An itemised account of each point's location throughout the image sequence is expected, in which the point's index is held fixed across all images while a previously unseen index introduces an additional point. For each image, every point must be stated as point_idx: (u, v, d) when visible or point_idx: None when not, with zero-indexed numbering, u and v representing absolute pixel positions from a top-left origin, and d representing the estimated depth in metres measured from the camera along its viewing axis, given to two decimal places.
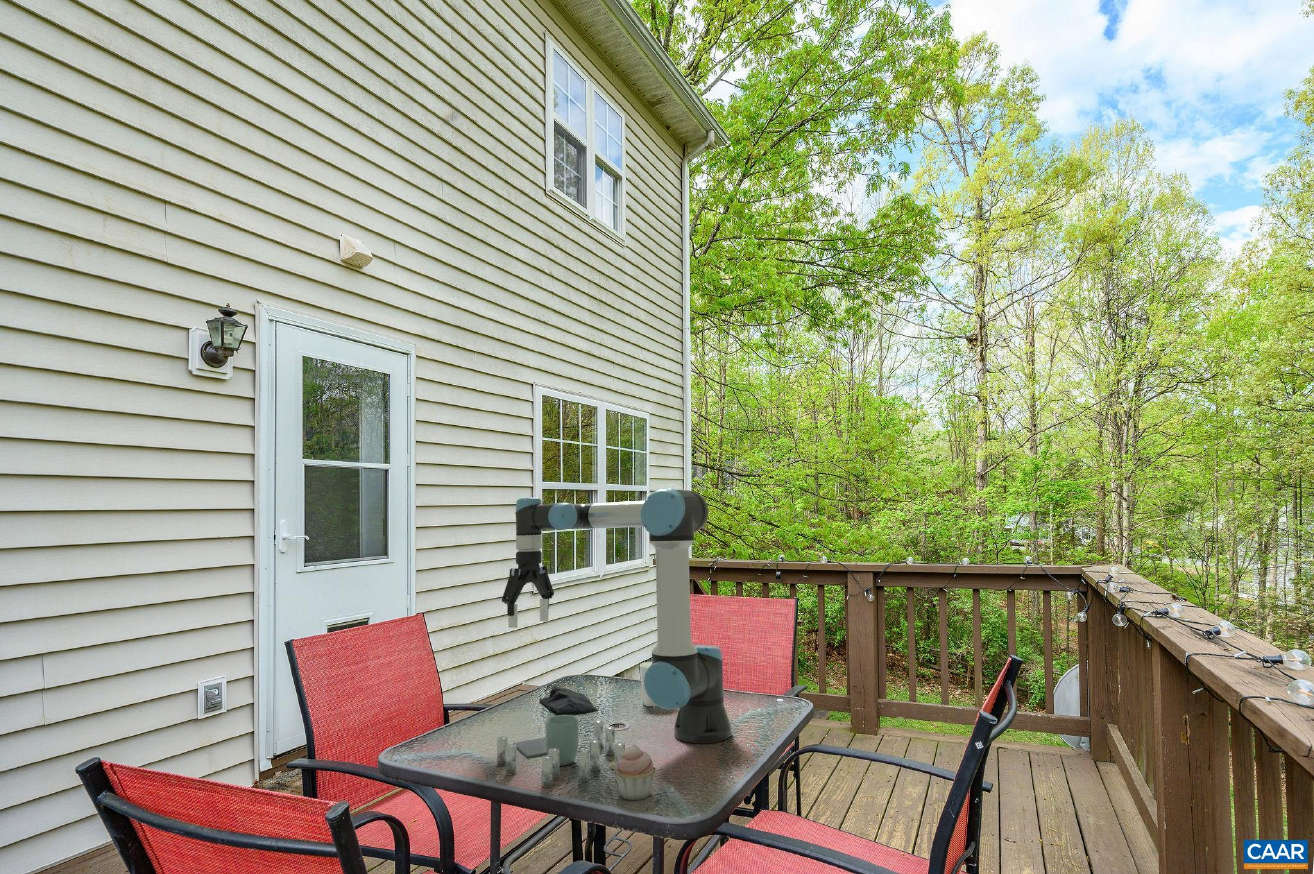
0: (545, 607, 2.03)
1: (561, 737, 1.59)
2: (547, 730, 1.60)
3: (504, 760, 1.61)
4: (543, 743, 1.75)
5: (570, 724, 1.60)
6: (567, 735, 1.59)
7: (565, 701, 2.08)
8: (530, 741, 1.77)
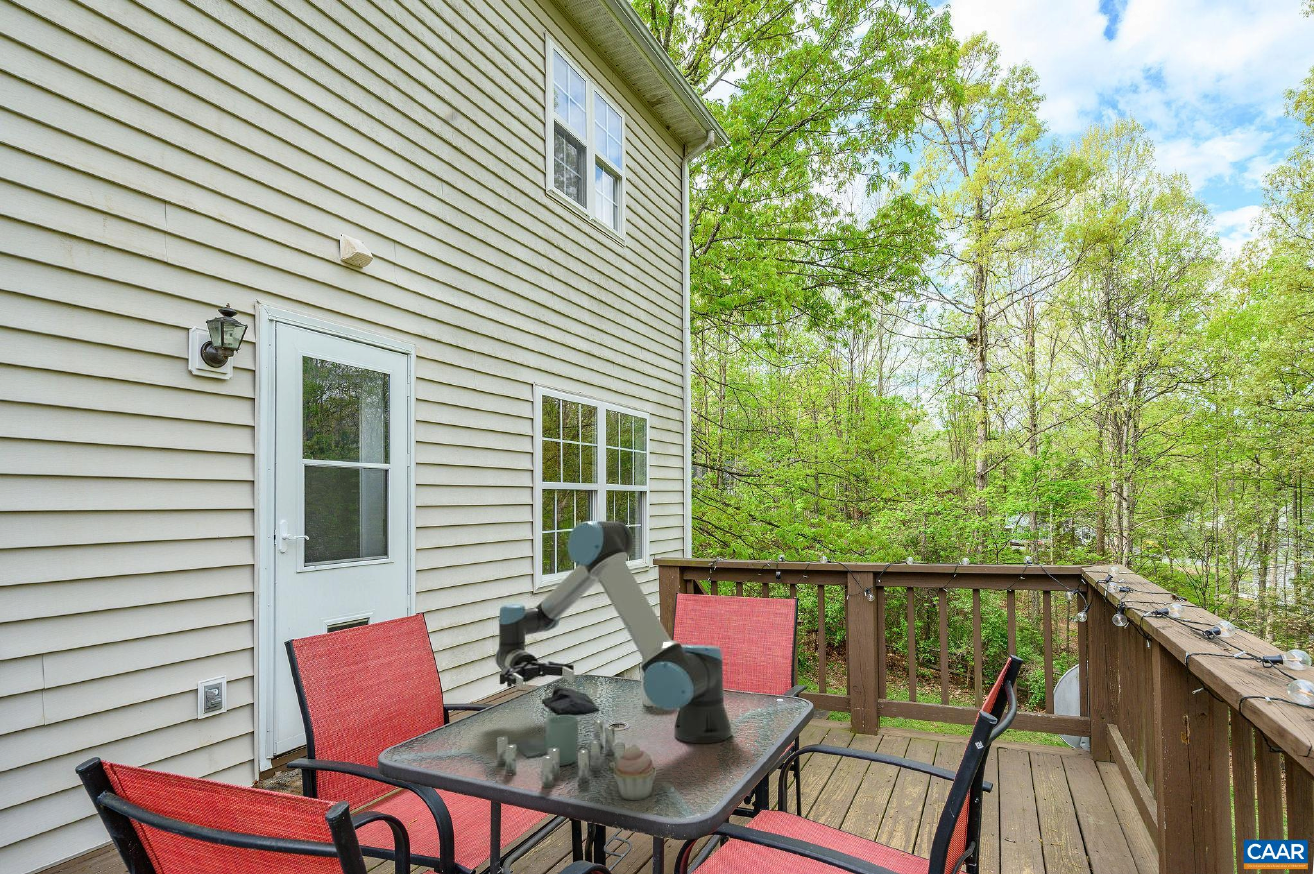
0: (565, 670, 1.79)
1: (561, 737, 1.59)
2: (547, 730, 1.60)
3: (504, 760, 1.61)
4: (543, 743, 1.75)
5: (570, 724, 1.60)
6: (567, 735, 1.59)
7: (567, 701, 2.08)
8: (530, 741, 1.77)
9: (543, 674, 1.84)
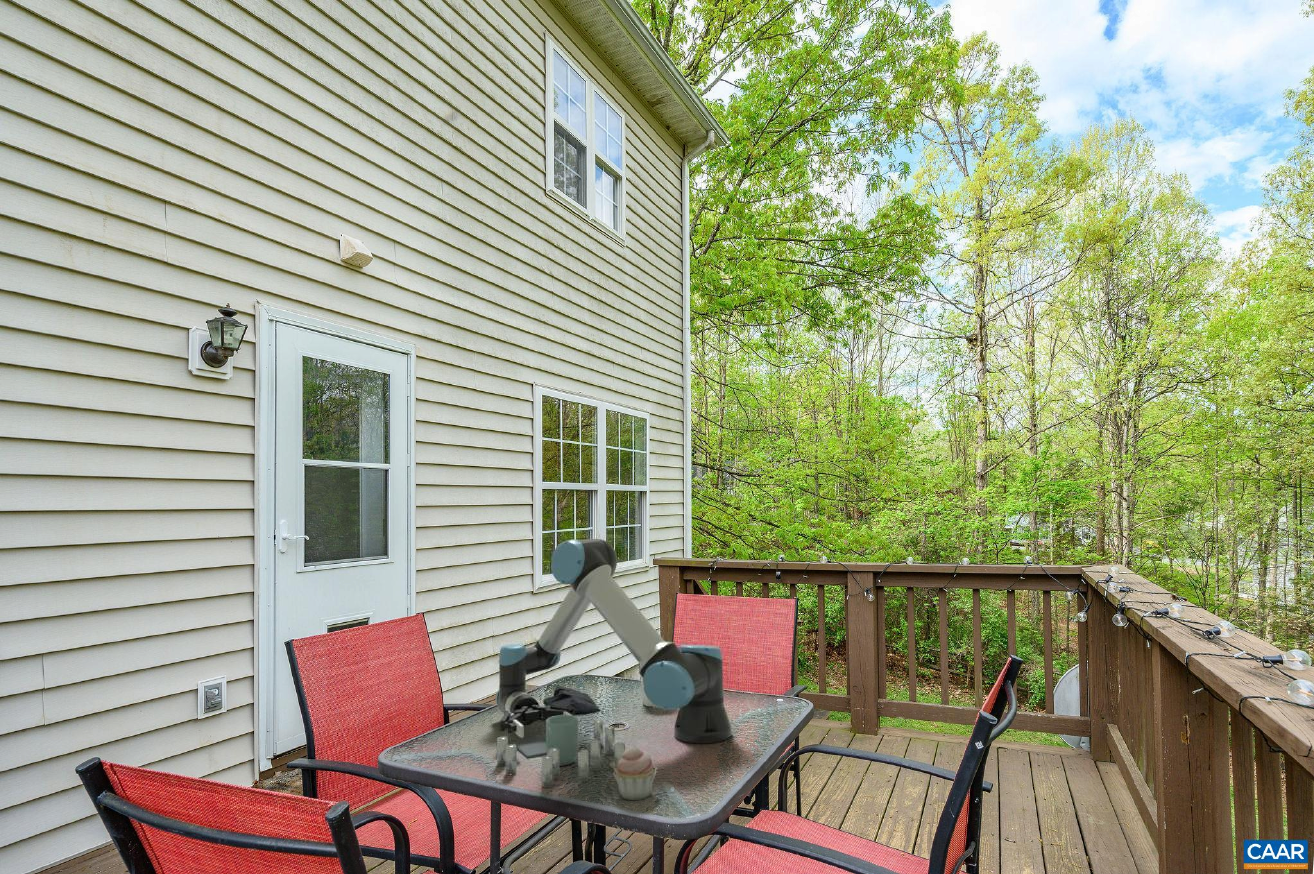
0: None
1: (561, 737, 1.59)
2: (547, 730, 1.60)
3: (504, 760, 1.61)
4: (543, 743, 1.75)
5: (570, 724, 1.60)
6: (567, 735, 1.59)
7: (568, 701, 2.08)
8: (530, 741, 1.77)
9: (544, 718, 1.82)
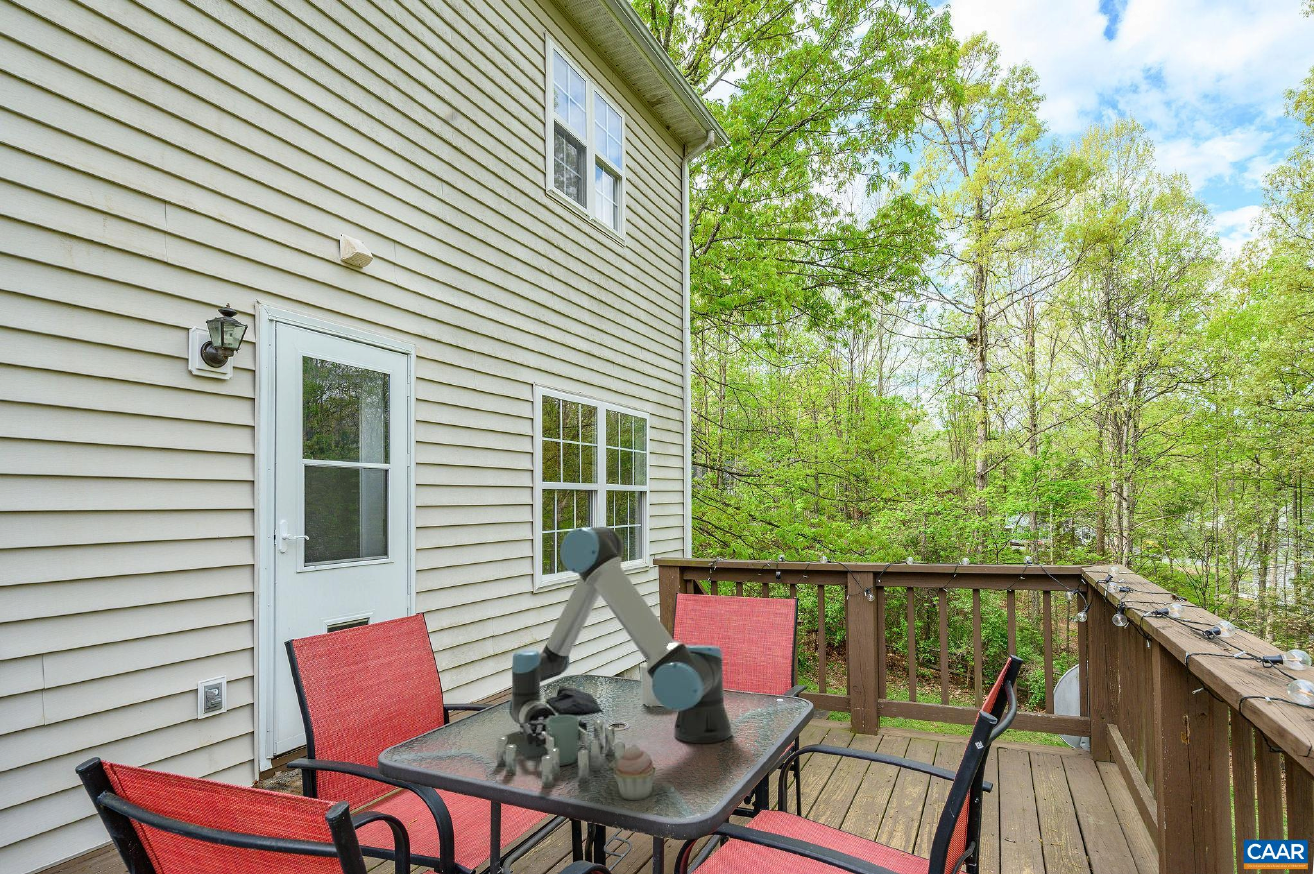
0: None
1: (561, 737, 1.59)
2: (547, 730, 1.60)
3: (504, 760, 1.61)
4: None
5: (570, 724, 1.60)
6: (567, 735, 1.59)
7: (570, 701, 2.08)
8: None
9: None
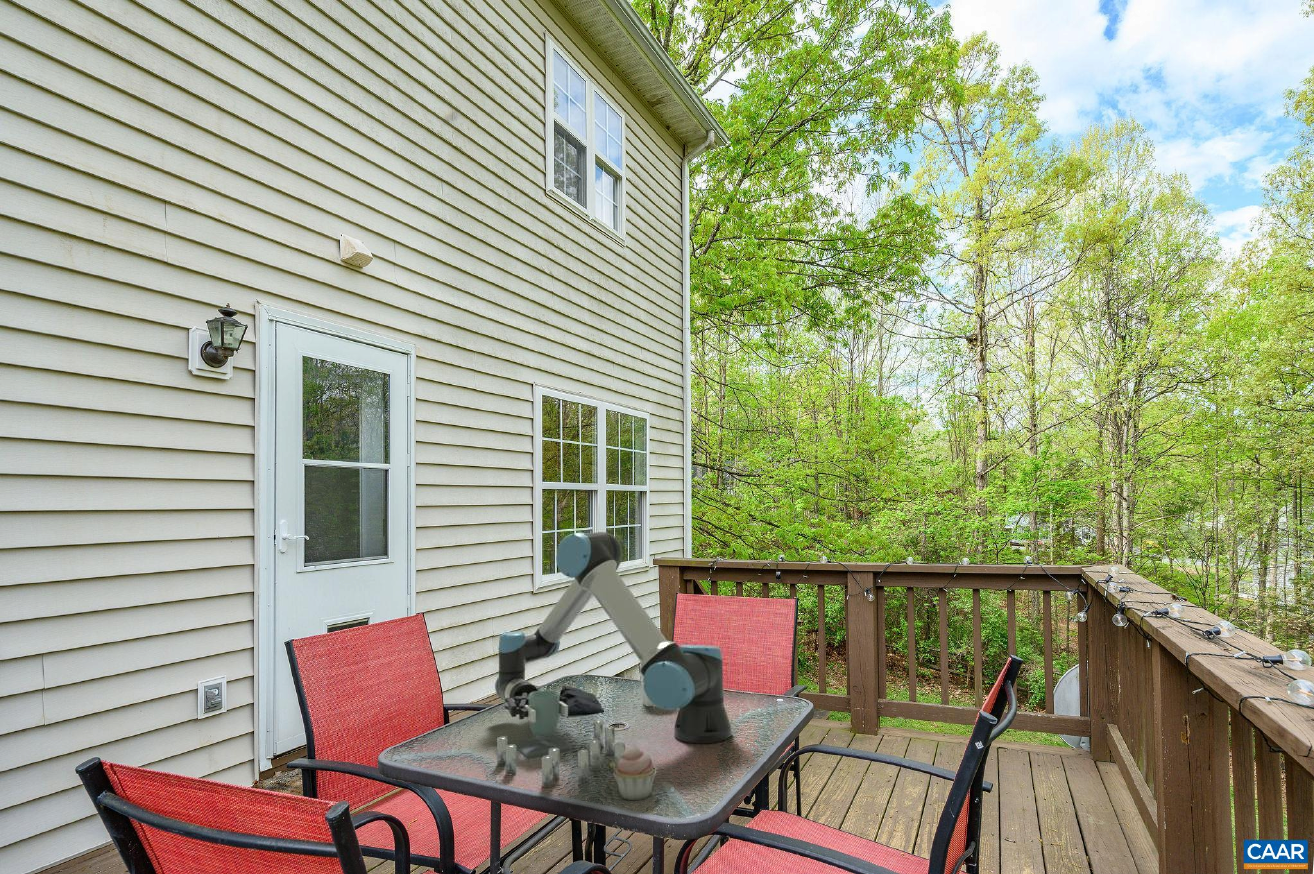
0: None
1: (542, 710, 1.70)
2: (530, 703, 1.72)
3: (504, 760, 1.61)
4: (543, 743, 1.75)
5: (551, 698, 1.71)
6: (548, 708, 1.70)
7: (572, 701, 2.08)
8: (530, 741, 1.77)
9: None
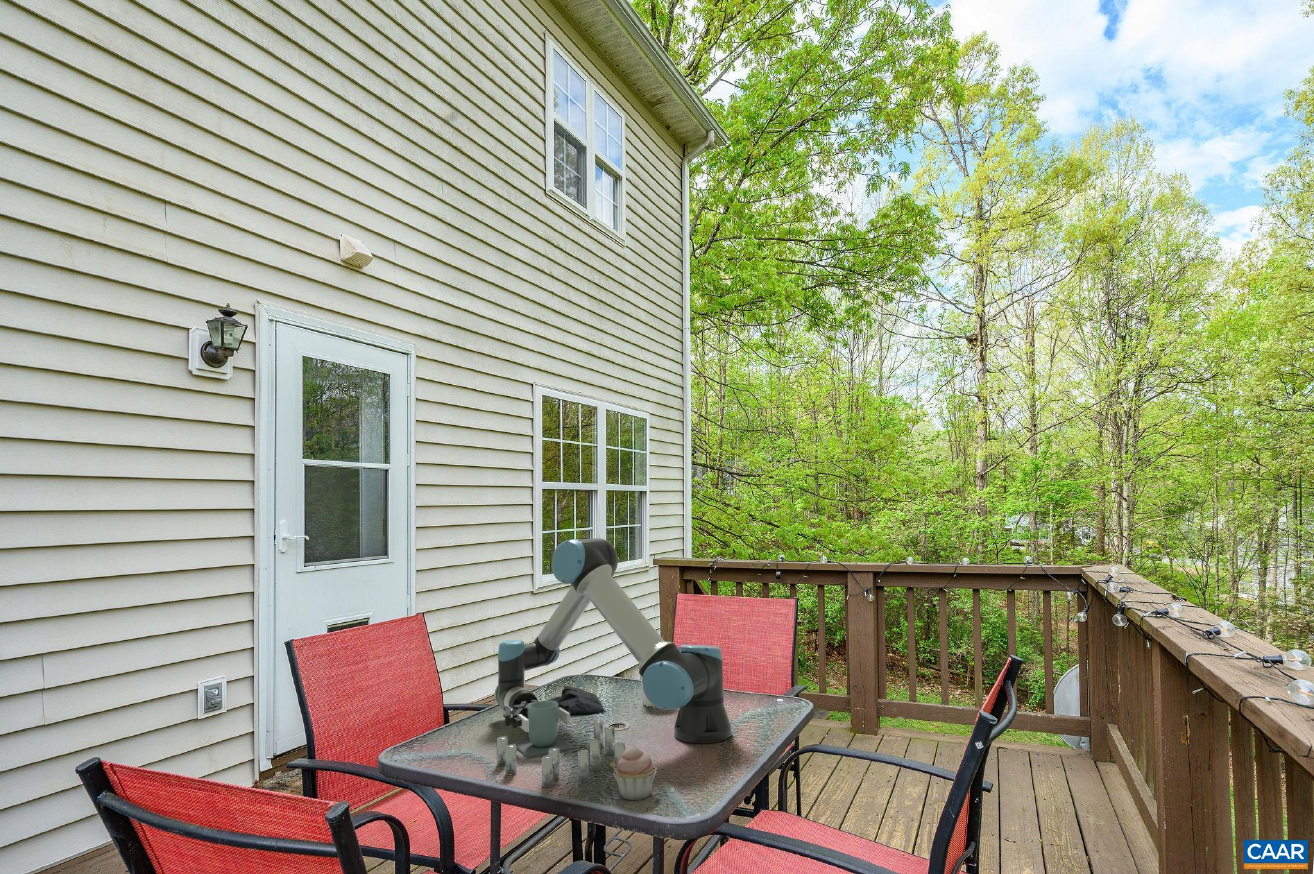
0: (561, 712, 1.77)
1: (541, 721, 1.71)
2: (529, 714, 1.73)
3: (504, 760, 1.61)
4: None
5: (550, 708, 1.72)
6: (547, 719, 1.71)
7: (573, 701, 2.07)
8: None
9: None
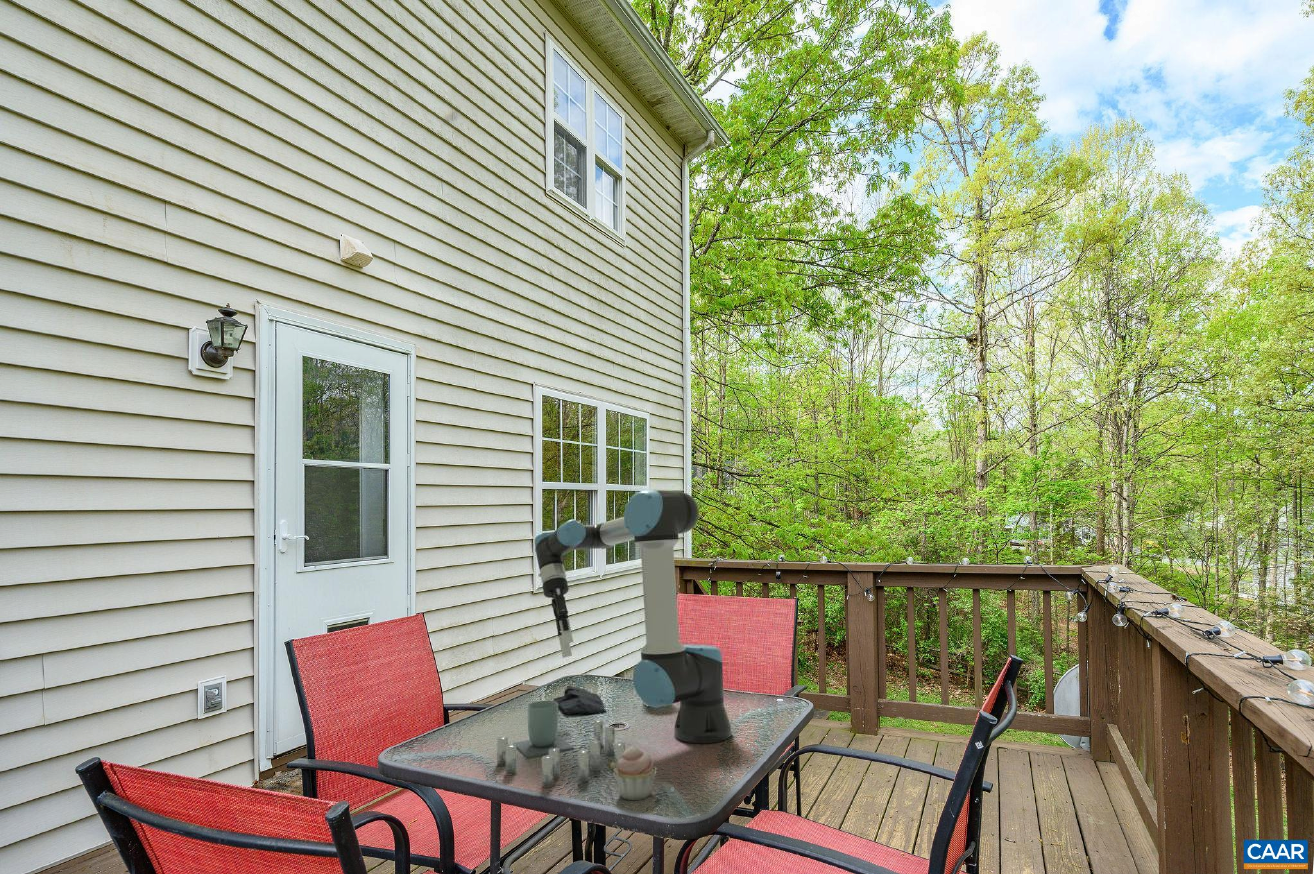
0: None
1: (541, 721, 1.71)
2: (529, 714, 1.73)
3: (504, 760, 1.61)
4: None
5: (550, 708, 1.72)
6: (547, 719, 1.71)
7: (574, 701, 2.07)
8: None
9: (556, 614, 2.04)
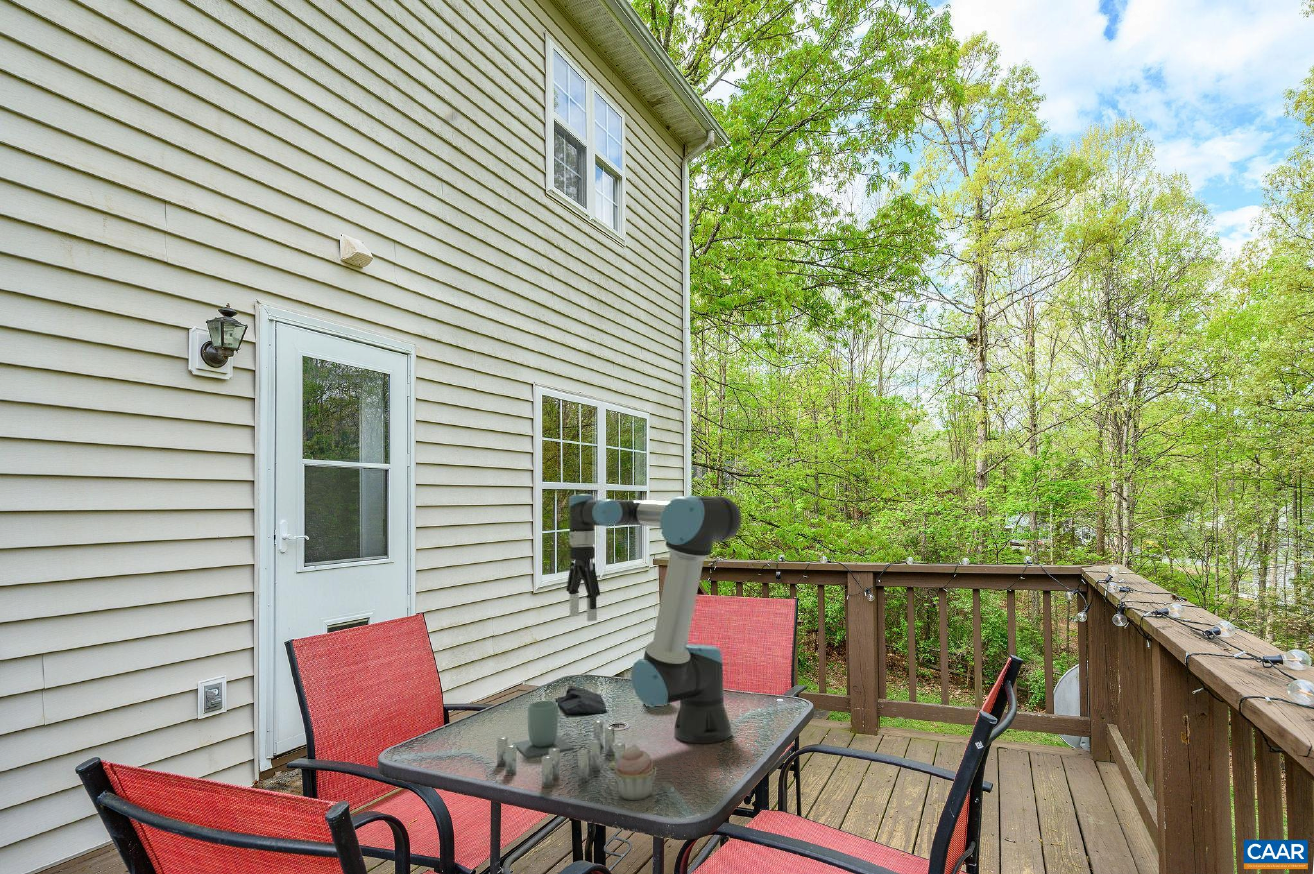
0: (577, 602, 2.08)
1: (541, 721, 1.71)
2: (529, 714, 1.73)
3: (504, 760, 1.61)
4: None
5: (550, 708, 1.72)
6: (547, 719, 1.71)
7: (576, 701, 2.07)
8: None
9: (575, 577, 2.05)
